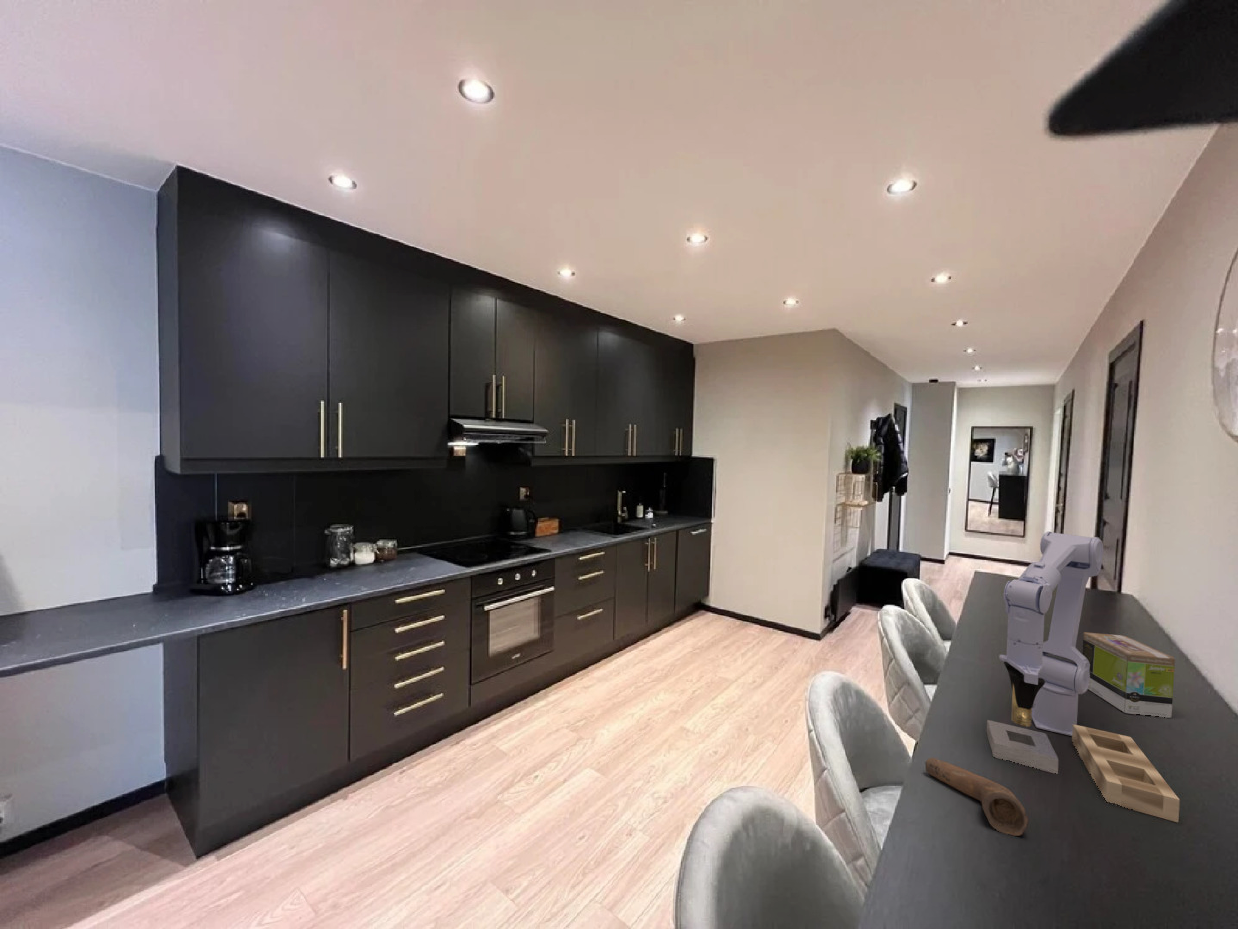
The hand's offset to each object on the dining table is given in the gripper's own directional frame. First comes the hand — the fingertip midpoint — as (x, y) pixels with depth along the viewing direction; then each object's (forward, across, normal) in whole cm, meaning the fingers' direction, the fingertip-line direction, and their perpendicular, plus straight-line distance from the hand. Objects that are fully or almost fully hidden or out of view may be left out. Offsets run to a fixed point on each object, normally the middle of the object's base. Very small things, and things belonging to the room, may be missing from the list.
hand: (1022, 703), depth 102 cm
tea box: (+11, -41, +27) cm, 50 cm away
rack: (+10, 0, +15) cm, 18 cm away
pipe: (+11, +23, -10) cm, 27 cm away
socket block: (+10, 0, 0) cm, 10 cm away
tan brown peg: (+4, 0, 0) cm, 4 cm away
